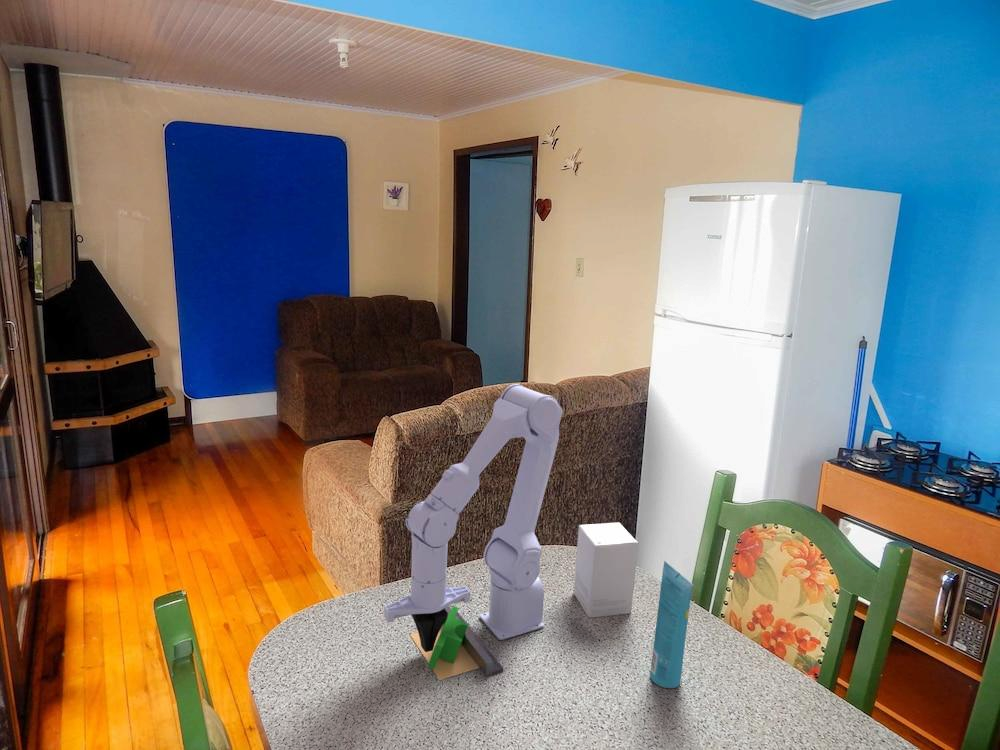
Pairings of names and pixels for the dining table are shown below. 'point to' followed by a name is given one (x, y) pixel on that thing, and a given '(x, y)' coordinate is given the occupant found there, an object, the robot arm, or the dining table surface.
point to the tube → (670, 628)
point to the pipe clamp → (449, 639)
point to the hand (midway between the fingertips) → (426, 647)
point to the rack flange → (463, 655)
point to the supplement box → (605, 569)
